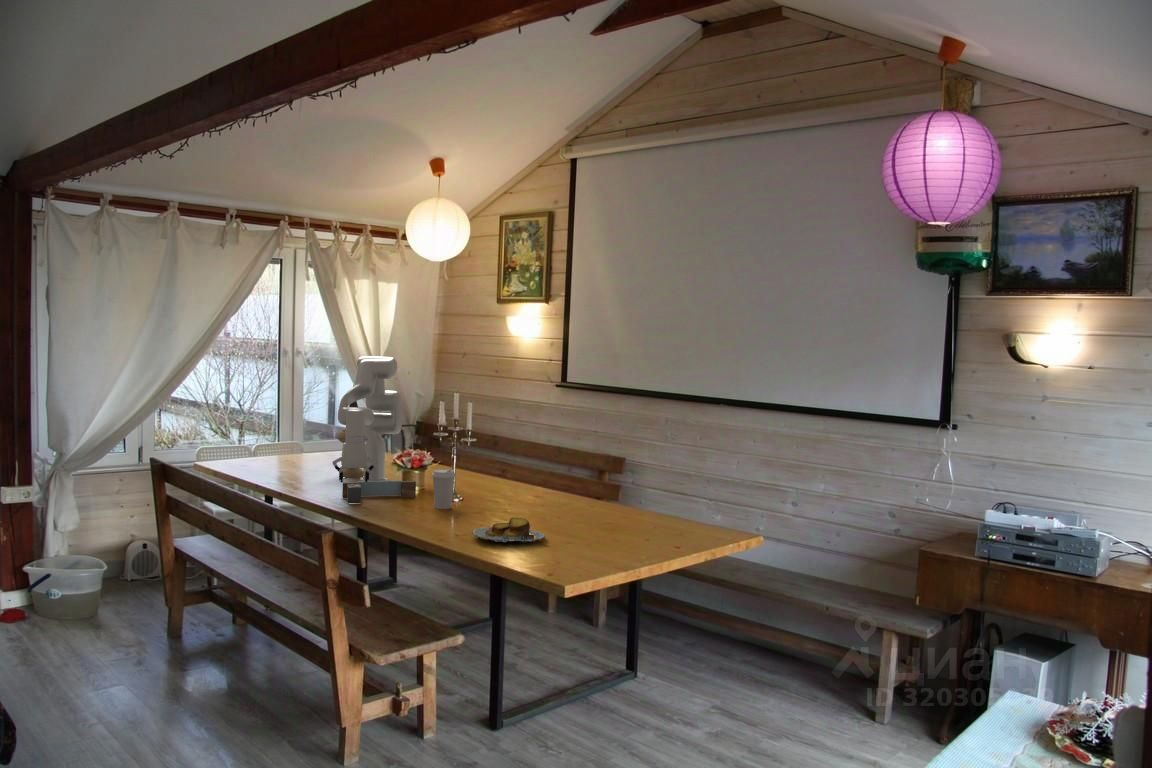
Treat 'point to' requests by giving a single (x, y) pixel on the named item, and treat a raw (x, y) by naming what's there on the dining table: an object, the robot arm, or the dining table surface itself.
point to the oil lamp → (341, 437)
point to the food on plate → (509, 531)
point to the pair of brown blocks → (406, 488)
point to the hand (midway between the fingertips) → (353, 481)
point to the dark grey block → (353, 493)
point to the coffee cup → (443, 487)
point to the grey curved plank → (380, 488)
